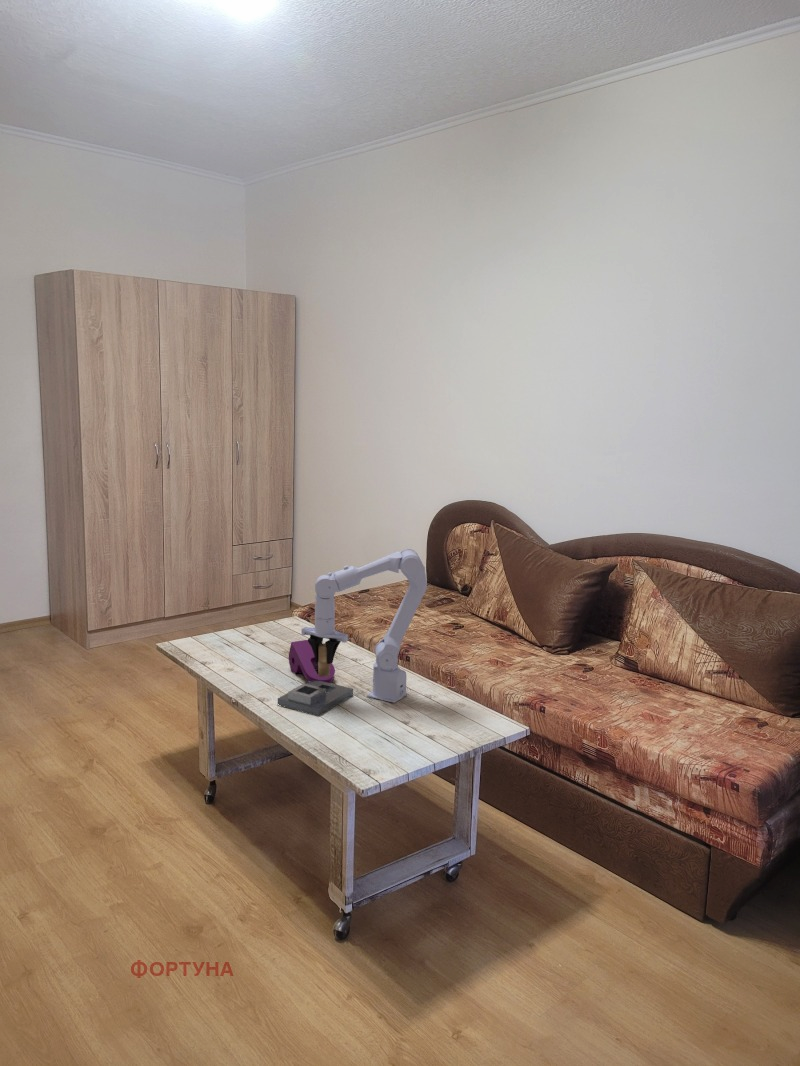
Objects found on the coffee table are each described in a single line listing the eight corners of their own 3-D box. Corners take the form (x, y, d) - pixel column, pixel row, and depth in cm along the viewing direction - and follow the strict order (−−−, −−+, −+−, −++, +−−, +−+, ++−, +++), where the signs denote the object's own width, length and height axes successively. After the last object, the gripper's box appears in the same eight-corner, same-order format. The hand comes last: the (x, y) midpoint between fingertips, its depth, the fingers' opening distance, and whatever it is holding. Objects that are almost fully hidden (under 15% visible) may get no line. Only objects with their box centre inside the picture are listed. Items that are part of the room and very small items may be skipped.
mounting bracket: (334, 697, 250) (314, 657, 262) (339, 677, 245) (319, 638, 258) (305, 702, 245) (287, 661, 258) (310, 682, 241) (291, 641, 253)
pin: (332, 674, 236) (332, 644, 234) (325, 677, 233) (326, 647, 231) (322, 671, 237) (322, 642, 235) (315, 675, 234) (316, 645, 232)
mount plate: (353, 695, 237) (353, 680, 236) (318, 715, 221) (318, 700, 221) (313, 685, 244) (314, 671, 243) (277, 705, 228) (277, 690, 227)
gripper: (353, 617, 232) (352, 661, 235) (310, 609, 238) (310, 653, 241) (341, 623, 226) (340, 669, 228) (297, 615, 232) (297, 660, 234)
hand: (324, 661), depth 234 cm, fingers closed on pin, 3 cm apart
